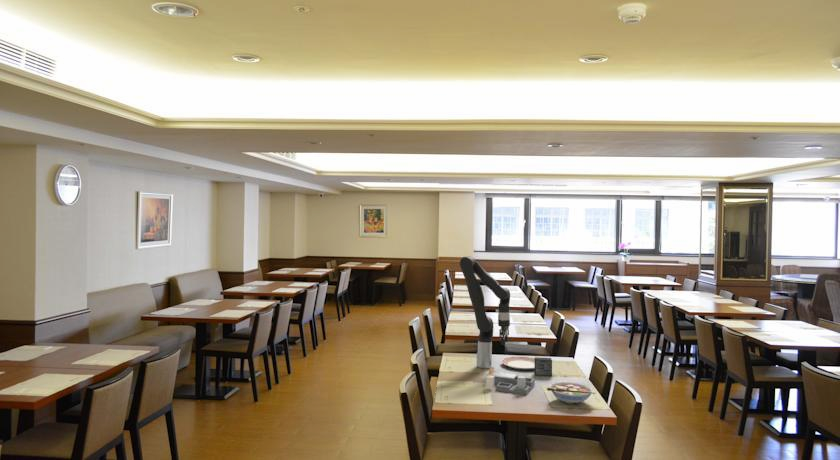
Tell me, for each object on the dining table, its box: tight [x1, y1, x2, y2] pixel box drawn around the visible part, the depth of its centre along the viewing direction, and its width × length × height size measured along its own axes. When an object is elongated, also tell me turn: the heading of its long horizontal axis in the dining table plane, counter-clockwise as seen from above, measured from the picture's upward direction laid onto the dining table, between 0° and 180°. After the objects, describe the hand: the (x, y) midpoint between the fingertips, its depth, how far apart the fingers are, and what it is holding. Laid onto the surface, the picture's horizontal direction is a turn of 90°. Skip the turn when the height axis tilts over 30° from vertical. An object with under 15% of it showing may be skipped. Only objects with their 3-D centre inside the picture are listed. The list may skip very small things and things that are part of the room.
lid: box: [486, 366, 518, 379], centre depth 325 cm, size 16×8×4 cm, turn 66°
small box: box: [533, 356, 553, 377], centre depth 344 cm, size 11×6×10 cm, turn 84°
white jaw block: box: [485, 375, 495, 391], centre depth 314 cm, size 4×4×7 cm
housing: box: [494, 375, 535, 396], centre depth 318 cm, size 27×20×8 cm
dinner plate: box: [501, 355, 535, 371], centre depth 364 cm, size 28×27×3 cm
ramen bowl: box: [546, 381, 597, 404], centre depth 293 cm, size 25×23×8 cm
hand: (504, 343), depth 354 cm, fingers open, 8 cm apart
